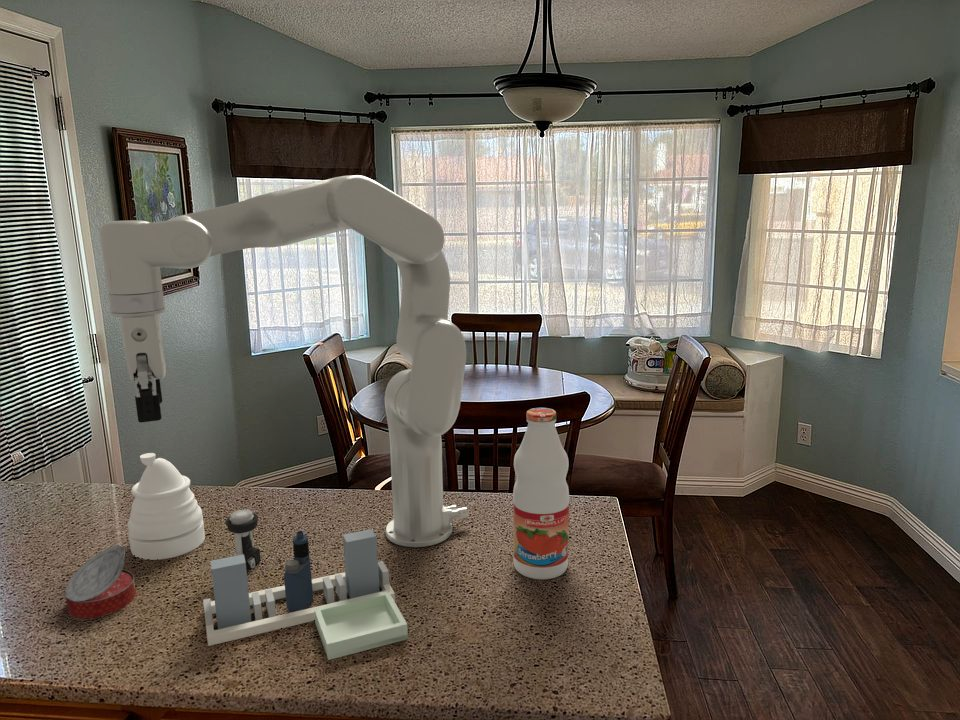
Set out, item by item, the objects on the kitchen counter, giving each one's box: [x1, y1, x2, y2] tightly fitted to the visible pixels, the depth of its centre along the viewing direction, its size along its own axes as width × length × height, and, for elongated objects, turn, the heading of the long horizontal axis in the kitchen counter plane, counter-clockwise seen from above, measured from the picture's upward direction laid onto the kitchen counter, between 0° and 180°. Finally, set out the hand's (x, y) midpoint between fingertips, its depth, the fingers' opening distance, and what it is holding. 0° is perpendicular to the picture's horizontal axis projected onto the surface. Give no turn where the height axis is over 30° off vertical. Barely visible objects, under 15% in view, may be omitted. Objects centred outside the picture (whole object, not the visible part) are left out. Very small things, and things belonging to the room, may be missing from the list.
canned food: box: [64, 544, 137, 619], centre depth 116 cm, size 11×10×10 cm
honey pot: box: [127, 452, 206, 561], centre depth 133 cm, size 13×13×18 cm
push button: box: [225, 508, 261, 571], centre depth 125 cm, size 7×5×10 cm
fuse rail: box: [202, 528, 396, 647], centre depth 113 cm, size 28×10×10 cm, turn 113°
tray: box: [314, 591, 409, 661], centre depth 107 cm, size 12×10×2 cm
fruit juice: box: [512, 407, 570, 580], centre depth 122 cm, size 9×9×28 cm
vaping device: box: [283, 530, 314, 613], centre depth 113 cm, size 3×5×12 cm, turn 161°
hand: (151, 412), depth 113 cm, fingers open, 9 cm apart
